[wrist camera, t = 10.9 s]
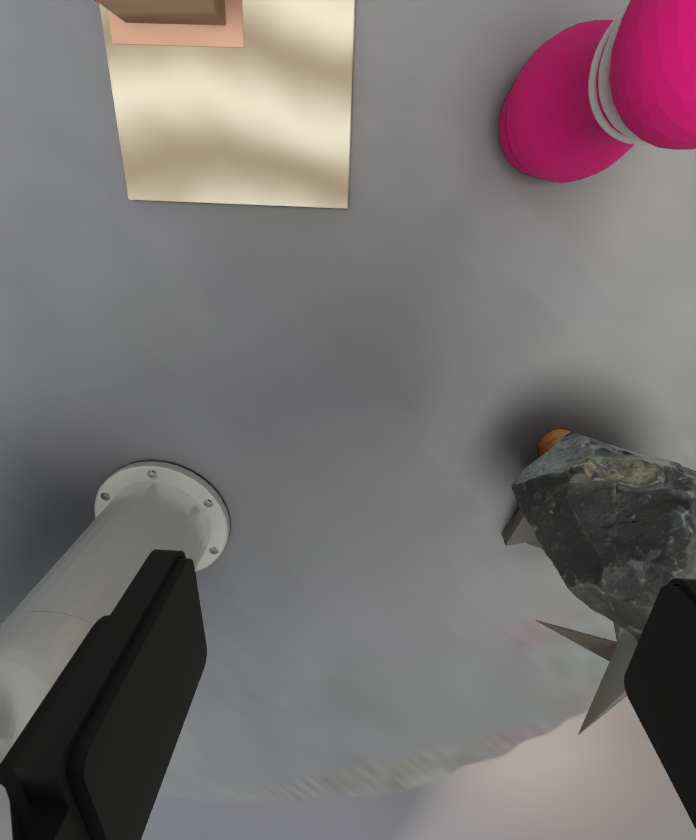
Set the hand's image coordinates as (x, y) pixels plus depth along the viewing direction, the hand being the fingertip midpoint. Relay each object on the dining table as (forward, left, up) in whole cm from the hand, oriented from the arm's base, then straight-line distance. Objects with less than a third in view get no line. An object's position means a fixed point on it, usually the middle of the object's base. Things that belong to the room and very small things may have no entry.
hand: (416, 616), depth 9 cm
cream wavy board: (+16, +11, -28) cm, 34 cm away
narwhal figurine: (-13, -16, -28) cm, 35 cm away
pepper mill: (+13, -9, -28) cm, 32 cm away
